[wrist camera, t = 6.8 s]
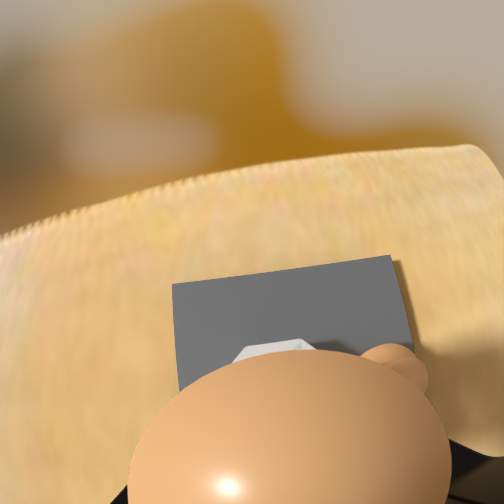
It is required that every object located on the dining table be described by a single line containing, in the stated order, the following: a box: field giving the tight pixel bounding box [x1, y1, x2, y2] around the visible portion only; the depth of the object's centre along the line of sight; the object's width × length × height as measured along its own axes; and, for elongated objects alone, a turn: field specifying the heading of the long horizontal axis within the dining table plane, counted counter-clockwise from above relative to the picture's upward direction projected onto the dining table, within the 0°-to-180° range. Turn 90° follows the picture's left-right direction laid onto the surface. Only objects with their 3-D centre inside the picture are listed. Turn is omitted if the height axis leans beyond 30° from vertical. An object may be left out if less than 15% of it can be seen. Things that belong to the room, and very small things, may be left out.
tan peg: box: [127, 349, 452, 504], centre depth 9 cm, size 4×4×13 cm
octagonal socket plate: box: [172, 255, 429, 394], centre depth 19 cm, size 16×18×6 cm
